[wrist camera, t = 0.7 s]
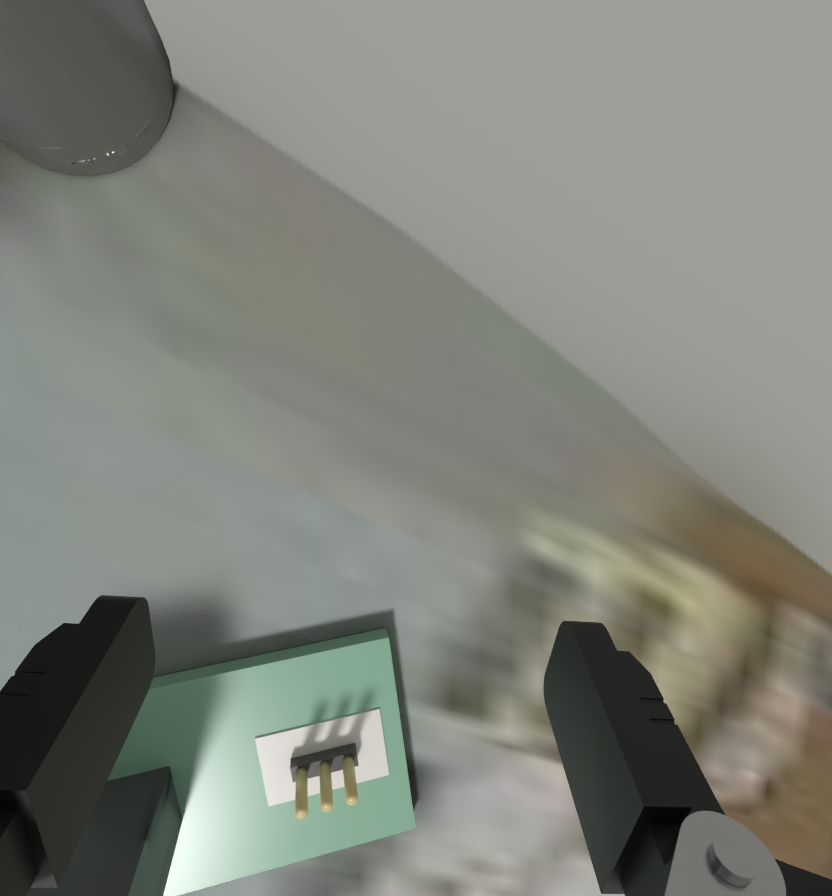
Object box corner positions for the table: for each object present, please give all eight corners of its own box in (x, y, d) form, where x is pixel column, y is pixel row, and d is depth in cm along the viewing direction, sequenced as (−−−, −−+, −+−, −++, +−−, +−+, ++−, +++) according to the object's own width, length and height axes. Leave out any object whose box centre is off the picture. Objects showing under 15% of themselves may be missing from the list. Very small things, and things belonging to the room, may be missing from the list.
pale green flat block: (63, 910, 34) (22, 1005, 29) (3, 709, 31) (-54, 777, 26) (412, 813, 38) (428, 883, 33) (386, 627, 35) (399, 673, 30)
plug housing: (67, 850, 32) (-23, 1039, 23) (51, 794, 31) (-49, 969, 22) (182, 820, 33) (138, 990, 24) (169, 766, 32) (119, 921, 23)
